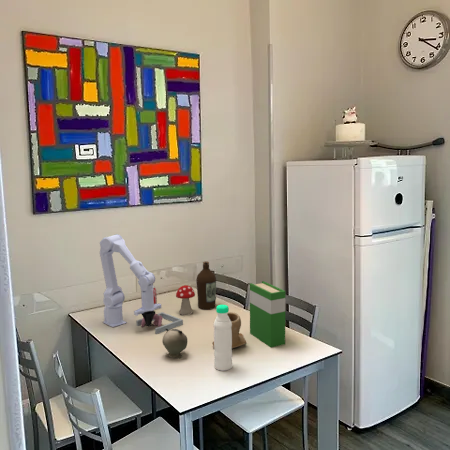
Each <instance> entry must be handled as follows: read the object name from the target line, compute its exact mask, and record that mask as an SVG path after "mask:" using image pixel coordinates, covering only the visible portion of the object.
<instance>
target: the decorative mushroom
mask: <svg viewBox="0 0 450 450" xmlns="http://www.w3.org/2000/svg"><path fill="white" fill-rule="evenodd" d="M195 295H196V292H195V290H194V289H193V288H192V286H190V285H188V284H187V285H186V284H185V285H182V286H180V287H179V288H178V289H177V291H176V293H175V297H176V298H177V299H181V305H180V309H179V313H180V315H182V316H187V315H192V313H193V308H192V305H191V302H190V301H191V300H190V299H191V298H194V297H195Z"/></svg>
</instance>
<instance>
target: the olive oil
mask: <svg viewBox="0 0 450 450" xmlns="http://www.w3.org/2000/svg"><path fill="white" fill-rule="evenodd" d="M195 281H196V291H197V292H196V293H197V294H196V295H197V307H198V309H199V310H204V311H209V310H213V309H216V307H217V306H216V300H217V294H216V293H217V277H216V275H215V273H214V272H213V271H212V270H211V269H210V262H209V261H205V260H204V261H202V270H201V271H199V273H198V274H197V275H196V280H195Z"/></svg>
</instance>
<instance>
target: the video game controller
mask: <svg viewBox="0 0 450 450" xmlns="http://www.w3.org/2000/svg"><path fill="white" fill-rule="evenodd" d="M141 319H142V323H141V325H140V326H141V328H143V327H145V326H146V322H145V320H144V318H143V317H142V318H141ZM153 320H154V321H152V324H153V326H157V328H158V327H161V326H162V324H163V322H162V321H163V318H162V316H161V315H159V314H158V313H155V315H154V317H153Z"/></svg>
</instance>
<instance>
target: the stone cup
mask: <svg viewBox="0 0 450 450" xmlns="http://www.w3.org/2000/svg"><path fill="white" fill-rule="evenodd" d="M227 315H228V316H229V319H230V321H231V323H232V327H231V330H232V349H235V348H237V347H241V346H243V345H244V346H245V345H247V341H246V339H245V336H244V334H243V333H241V332H240V330H241V327H242V320H241V319H242V318H241V316H240V315H239V314H238V313H237V312H233V311H228V314H227ZM212 345H213V347H214V340H213V341H212Z"/></svg>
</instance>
